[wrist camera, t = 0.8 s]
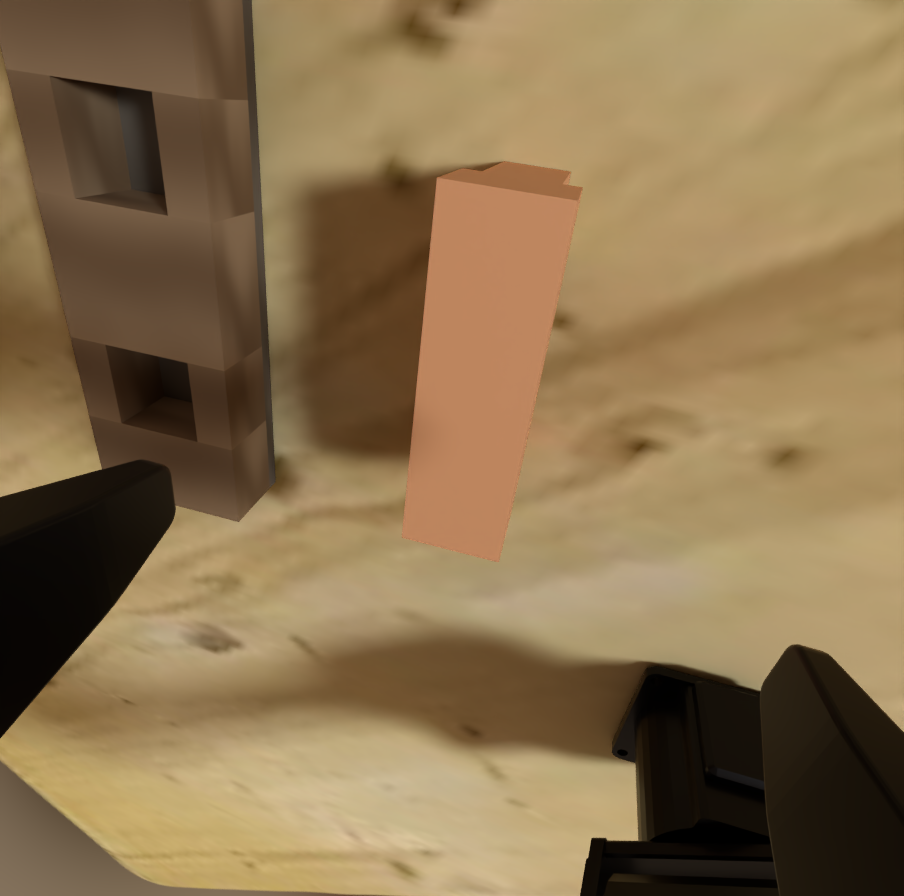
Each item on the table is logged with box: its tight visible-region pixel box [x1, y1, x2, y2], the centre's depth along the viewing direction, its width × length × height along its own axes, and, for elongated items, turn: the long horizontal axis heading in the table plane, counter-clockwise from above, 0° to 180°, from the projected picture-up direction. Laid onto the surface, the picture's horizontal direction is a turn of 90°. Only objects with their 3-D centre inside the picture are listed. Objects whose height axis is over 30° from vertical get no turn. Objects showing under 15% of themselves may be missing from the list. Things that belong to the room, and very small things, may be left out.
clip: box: [402, 161, 583, 562], centre depth 17 cm, size 10×3×6 cm, turn 172°
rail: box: [0, 0, 275, 522], centre depth 20 cm, size 18×6×3 cm, turn 172°
